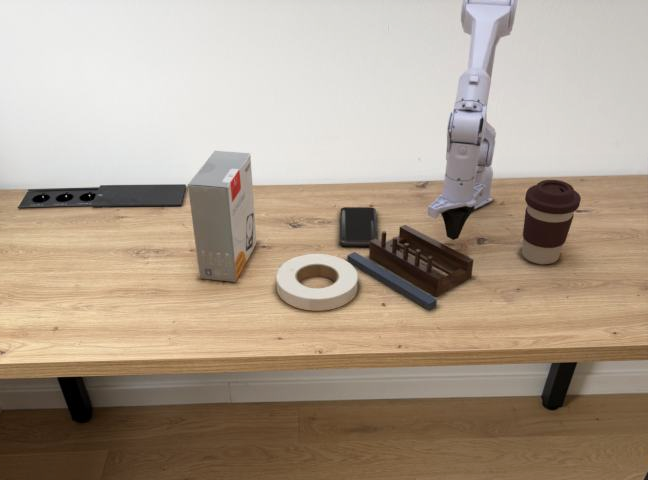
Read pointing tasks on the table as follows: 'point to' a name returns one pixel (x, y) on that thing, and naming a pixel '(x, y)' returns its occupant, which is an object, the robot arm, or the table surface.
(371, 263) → the rail
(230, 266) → the hard drive box
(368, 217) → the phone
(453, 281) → the rack
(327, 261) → the tape roll
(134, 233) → the table surface
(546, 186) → the coffee cup
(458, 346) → the table surface
